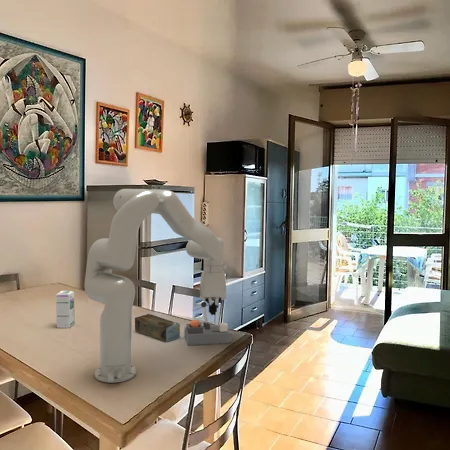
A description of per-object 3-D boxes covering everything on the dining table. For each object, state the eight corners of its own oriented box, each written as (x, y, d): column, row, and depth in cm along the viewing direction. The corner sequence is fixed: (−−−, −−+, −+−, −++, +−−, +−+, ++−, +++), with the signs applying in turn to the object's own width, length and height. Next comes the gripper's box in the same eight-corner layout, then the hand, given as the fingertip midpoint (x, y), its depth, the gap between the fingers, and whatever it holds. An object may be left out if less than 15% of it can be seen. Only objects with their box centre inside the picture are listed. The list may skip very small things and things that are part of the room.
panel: (231, 342, 168) (232, 327, 168) (188, 345, 164) (188, 329, 164) (225, 334, 178) (225, 319, 177) (184, 336, 174) (184, 321, 173)
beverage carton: (165, 343, 166) (166, 326, 166) (133, 332, 178) (133, 316, 178) (180, 338, 172) (180, 321, 172) (148, 327, 184) (148, 312, 184)
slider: (227, 331, 168) (227, 325, 168) (220, 331, 168) (220, 325, 167) (225, 329, 171) (225, 322, 171) (218, 329, 170) (218, 323, 170)
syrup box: (70, 328, 180) (70, 293, 179) (55, 327, 180) (55, 293, 179) (74, 323, 186) (74, 290, 184) (60, 323, 186) (60, 290, 184)
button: (199, 329, 167) (199, 322, 167) (191, 330, 166) (191, 322, 166) (197, 327, 170) (198, 319, 170) (189, 327, 169) (190, 320, 169)
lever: (210, 327, 172) (206, 302, 171) (204, 328, 172) (201, 303, 170) (209, 325, 174) (205, 300, 173) (203, 326, 174) (200, 301, 173)
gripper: (229, 266, 177) (228, 310, 179) (193, 267, 174) (192, 312, 175) (234, 270, 170) (233, 315, 171) (196, 271, 166) (195, 317, 168)
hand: (212, 313), depth 173 cm, fingers closed
